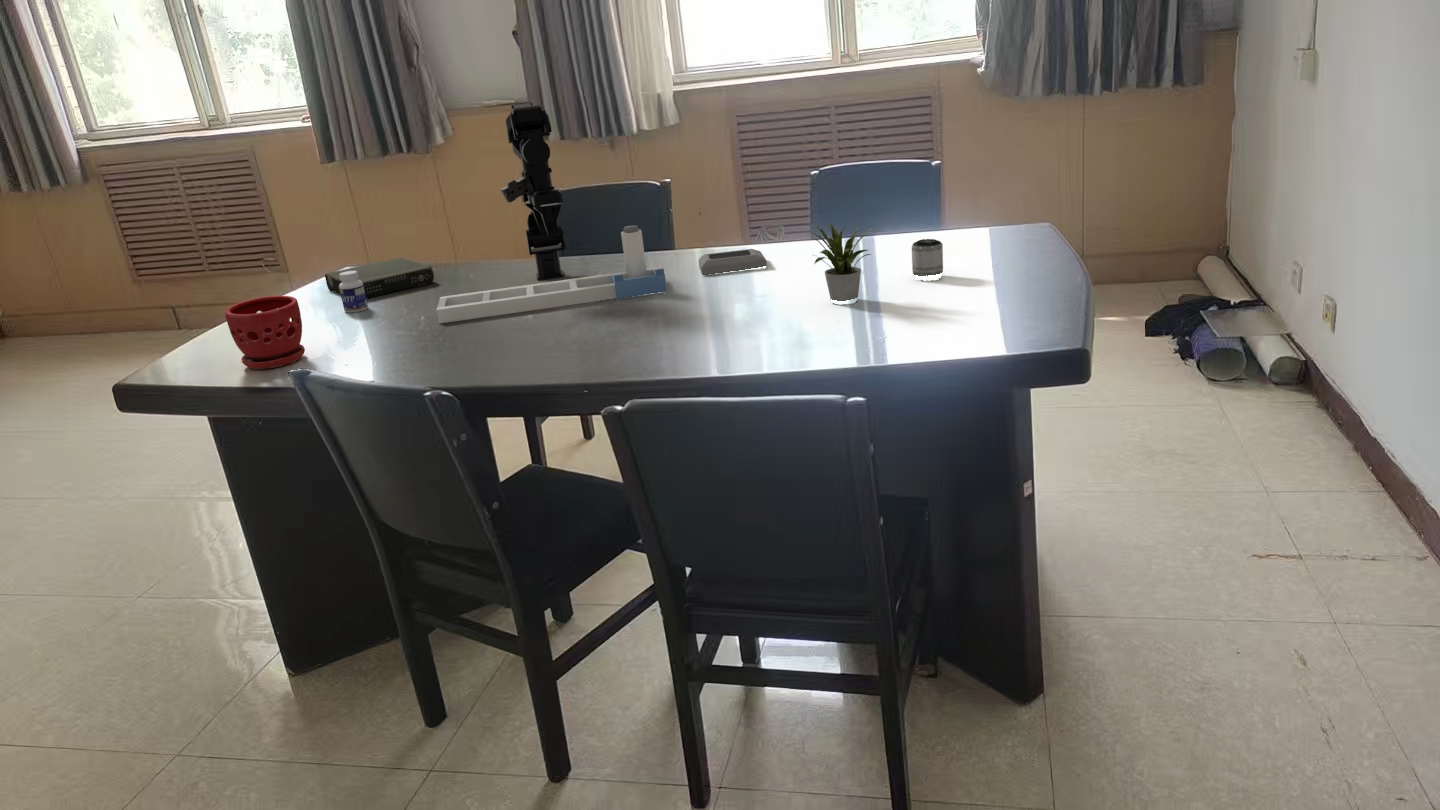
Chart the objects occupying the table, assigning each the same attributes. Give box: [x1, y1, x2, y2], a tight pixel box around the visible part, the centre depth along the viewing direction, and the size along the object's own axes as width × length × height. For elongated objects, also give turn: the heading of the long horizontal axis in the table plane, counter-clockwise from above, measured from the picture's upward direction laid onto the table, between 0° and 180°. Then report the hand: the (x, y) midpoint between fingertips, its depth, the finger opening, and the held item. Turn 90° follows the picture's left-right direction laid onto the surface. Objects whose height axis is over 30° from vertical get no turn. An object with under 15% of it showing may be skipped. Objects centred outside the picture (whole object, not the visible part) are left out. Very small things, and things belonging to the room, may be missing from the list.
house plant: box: [808, 219, 876, 301], centre depth 197 cm, size 14×14×16 cm
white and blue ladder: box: [436, 266, 668, 324], centre depth 222 cm, size 13×49×5 cm, turn 101°
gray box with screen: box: [698, 248, 768, 276], centre depth 236 cm, size 10×4×15 cm
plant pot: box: [224, 295, 306, 370], centre depth 196 cm, size 13×13×12 cm
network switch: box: [324, 257, 435, 300], centre depth 255 cm, size 23×23×5 cm
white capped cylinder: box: [620, 224, 647, 279], centre depth 224 cm, size 4×4×14 cm
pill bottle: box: [339, 271, 369, 314], centre depth 232 cm, size 5×5×9 cm
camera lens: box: [911, 238, 944, 276], centre depth 209 cm, size 6×6×8 cm
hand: (547, 234), depth 229 cm, fingers open, 9 cm apart
